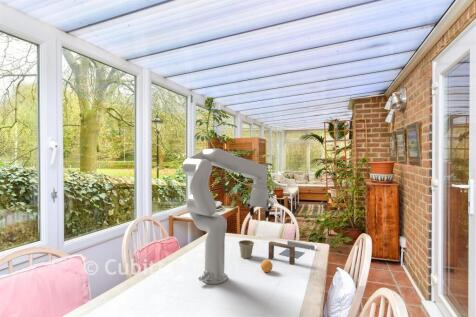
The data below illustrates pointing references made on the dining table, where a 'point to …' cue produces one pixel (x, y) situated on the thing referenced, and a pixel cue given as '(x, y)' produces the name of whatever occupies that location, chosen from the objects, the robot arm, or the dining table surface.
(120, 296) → the dining table surface
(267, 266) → the ball
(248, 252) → the flower pot
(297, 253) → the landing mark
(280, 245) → the bridge
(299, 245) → the stopper
